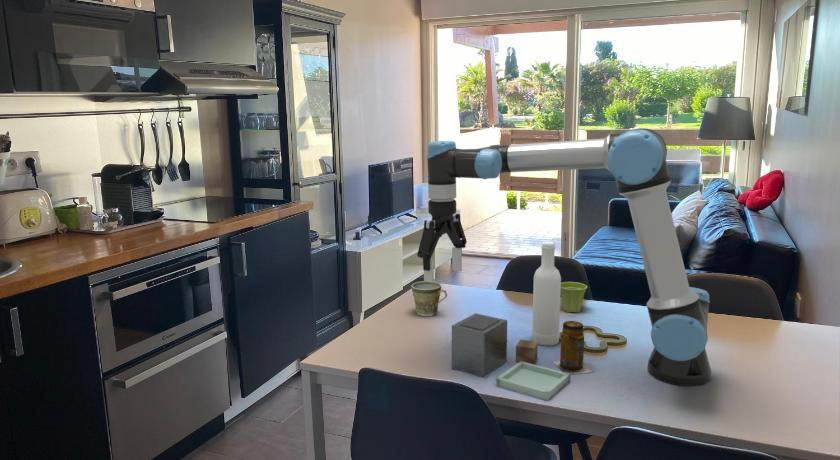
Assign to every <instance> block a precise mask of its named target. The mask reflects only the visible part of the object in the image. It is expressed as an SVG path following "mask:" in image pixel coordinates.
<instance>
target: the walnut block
mask: <svg viewBox="0 0 840 460" xmlns="http://www.w3.org/2000/svg"><path fill="white" fill-rule="evenodd" d="M538 350H539V345H538V342H536V341H532V340H526V339H519V340H518V341H517V343H516V345H515V364H517V363H519V362H520V361H522V362H526V363H530V364H533V365H536V362H537V360H538V358H539V357H538V354H539V351H538Z"/></svg>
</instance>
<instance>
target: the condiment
mask: <svg viewBox="0 0 840 460" xmlns="http://www.w3.org/2000/svg"><path fill="white" fill-rule="evenodd" d="M559 352H560V353H559V360H558V361H557V360H555V361H553V363H554V364H555V365H556V366H557V367H558V368H559V369H560V370H561V371H562V372H564V373H568V374H570V375H578V374H586V373H587V374H589V373H593V371H592V370H591V369H590V368H589V367H588V366H586V365H585V364H584V359H585V356H584V355H585V354H584V353H585V335H584V324H583V323H582V322H579V321H577V320H566V321H565V322H563V324H562V332H561V334H560V351H559Z"/></svg>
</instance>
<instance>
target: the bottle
mask: <svg viewBox="0 0 840 460" xmlns="http://www.w3.org/2000/svg"><path fill="white" fill-rule="evenodd" d="M540 249H541V263H540V264H541V265H540V266H539V267H538V268H537V269H536V270H535V272H534V275H533V294H532V296H533V297H532V302H533V303H532V329H531V336H532V337H531V339H532V340H531V341H536V342H538V346H544V347H548V346H549V347H551V346H555V345H558V343H559V342H560V324H561V323H560V319H561V318H560V317H561V283H562V277H561V273H560V271H559V269H557V267H556V266H555V253H556V251H555V250H556V244H555V242H554V241H550V240H549V241H548V240H546V241H542V243H541V247H540Z"/></svg>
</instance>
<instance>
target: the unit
mask: <svg viewBox="0 0 840 460" xmlns="http://www.w3.org/2000/svg"><path fill="white" fill-rule="evenodd" d="M451 341H452V342H451V369H453V370H457V371H460V372H464V373H467V374H471V375H474V376H477V377H482V378H486V377H487V376H488V375H490V374H492V373H493V372H494V371H496V370H497V369H498V368H500V367H502V366H503V365H504V364H506V363H507V362H508V361H507V358H508V357H507V355H508V351H507V350H508V319H503V318H499V317H495V316H491V315H484V314H481V313H474V314H472V315H470V316H467V317H466V318H464V319H462V320H460V321H458V322H456V323H455V324H452V325H451Z"/></svg>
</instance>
